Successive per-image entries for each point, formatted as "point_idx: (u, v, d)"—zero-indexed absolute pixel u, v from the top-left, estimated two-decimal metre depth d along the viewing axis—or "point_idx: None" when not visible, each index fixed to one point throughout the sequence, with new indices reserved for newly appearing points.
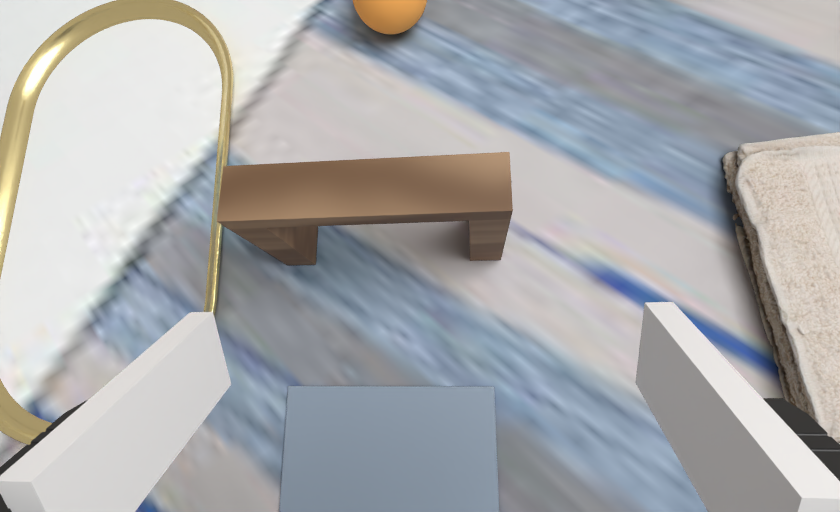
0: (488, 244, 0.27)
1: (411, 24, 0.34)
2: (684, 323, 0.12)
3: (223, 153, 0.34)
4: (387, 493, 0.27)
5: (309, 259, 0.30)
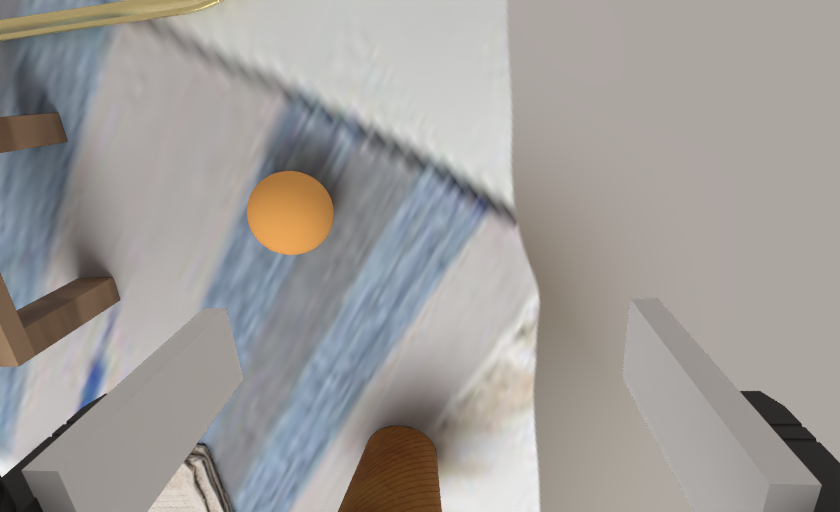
0: None
1: None
2: (667, 319, 0.12)
3: (94, 22, 0.29)
4: None
5: None
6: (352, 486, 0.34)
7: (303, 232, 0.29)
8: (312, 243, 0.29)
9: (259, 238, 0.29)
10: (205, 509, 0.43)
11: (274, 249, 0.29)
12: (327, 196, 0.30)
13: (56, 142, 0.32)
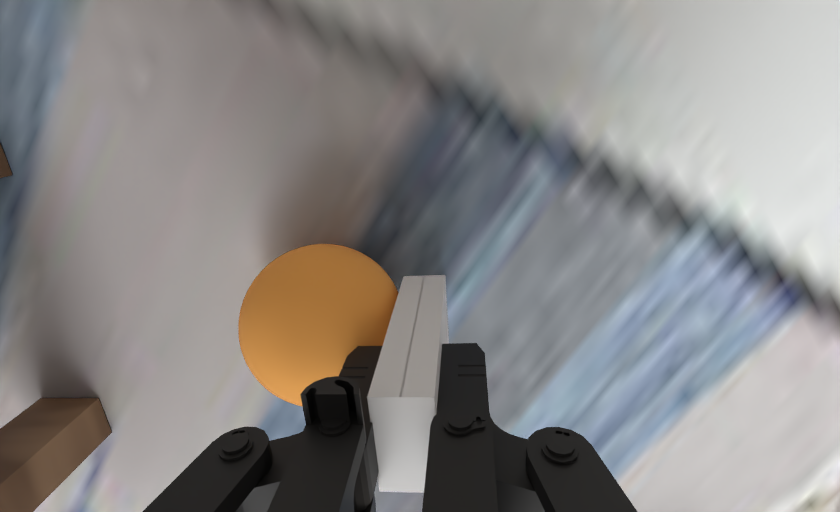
0: None
1: None
2: (437, 290, 0.15)
3: None
4: None
5: None
6: None
7: (262, 380, 0.14)
8: (292, 402, 0.15)
9: None
10: None
11: None
12: (337, 332, 0.13)
13: None
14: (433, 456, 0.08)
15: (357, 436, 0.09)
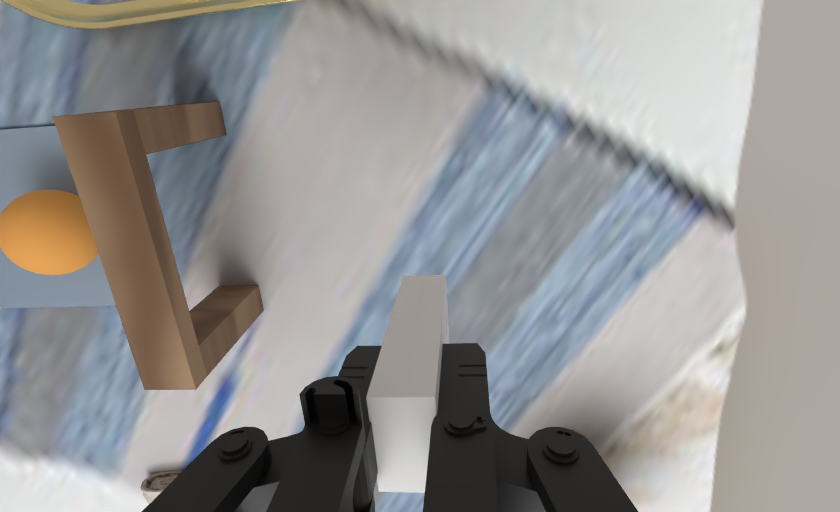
0: None
1: (62, 262, 0.29)
2: (438, 290, 0.15)
3: None
4: None
5: None
6: None
7: None
8: None
9: None
10: None
11: None
12: None
13: (218, 135, 0.28)
14: (434, 456, 0.08)
15: (357, 436, 0.09)
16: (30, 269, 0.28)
